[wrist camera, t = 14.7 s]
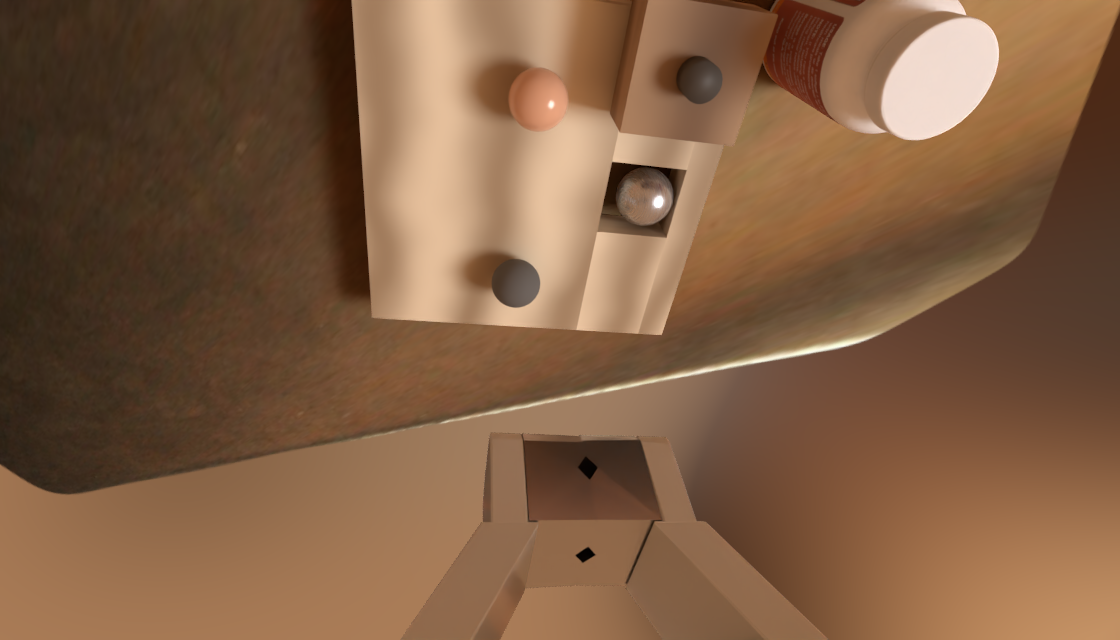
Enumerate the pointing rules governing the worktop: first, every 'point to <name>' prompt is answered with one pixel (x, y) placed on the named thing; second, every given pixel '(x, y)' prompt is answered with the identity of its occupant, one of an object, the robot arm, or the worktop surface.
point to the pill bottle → (883, 62)
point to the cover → (689, 68)
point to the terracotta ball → (538, 99)
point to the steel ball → (644, 196)
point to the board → (510, 168)
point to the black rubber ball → (515, 283)
